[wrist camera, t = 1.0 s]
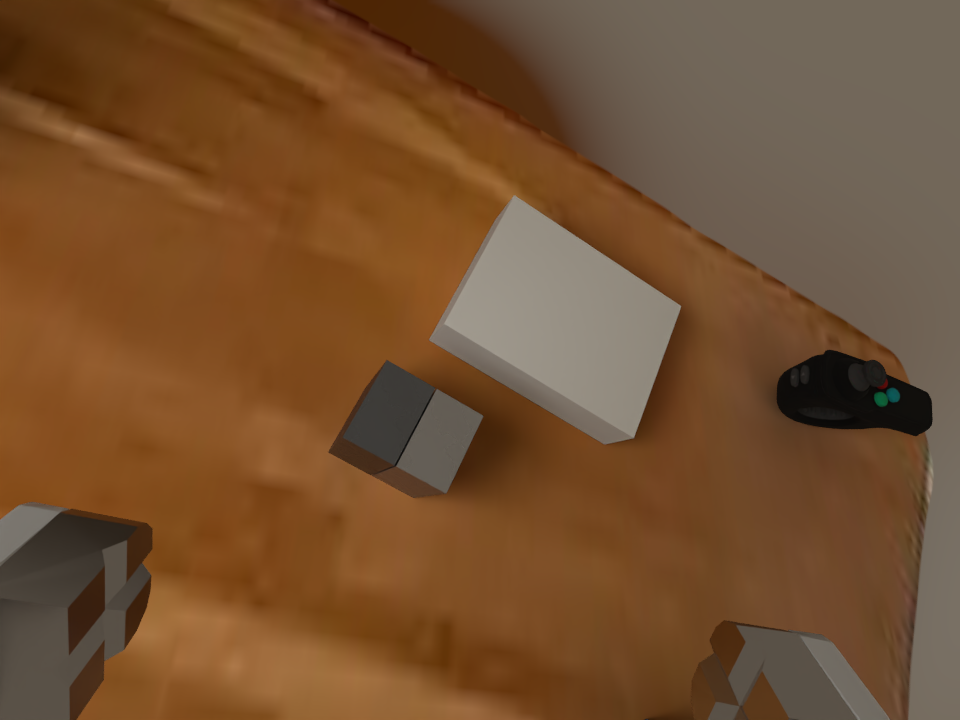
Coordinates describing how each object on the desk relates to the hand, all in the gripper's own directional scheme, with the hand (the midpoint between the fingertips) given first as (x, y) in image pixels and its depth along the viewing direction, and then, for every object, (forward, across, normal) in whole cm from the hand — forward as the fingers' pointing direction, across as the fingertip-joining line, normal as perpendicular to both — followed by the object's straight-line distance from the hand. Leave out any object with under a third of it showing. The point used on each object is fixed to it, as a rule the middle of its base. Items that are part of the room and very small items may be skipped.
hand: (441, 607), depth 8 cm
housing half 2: (+29, +4, +13) cm, 32 cm away
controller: (+42, -34, +9) cm, 54 cm away
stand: (+38, -8, +6) cm, 39 cm away
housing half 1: (+29, 0, +14) cm, 32 cm away
